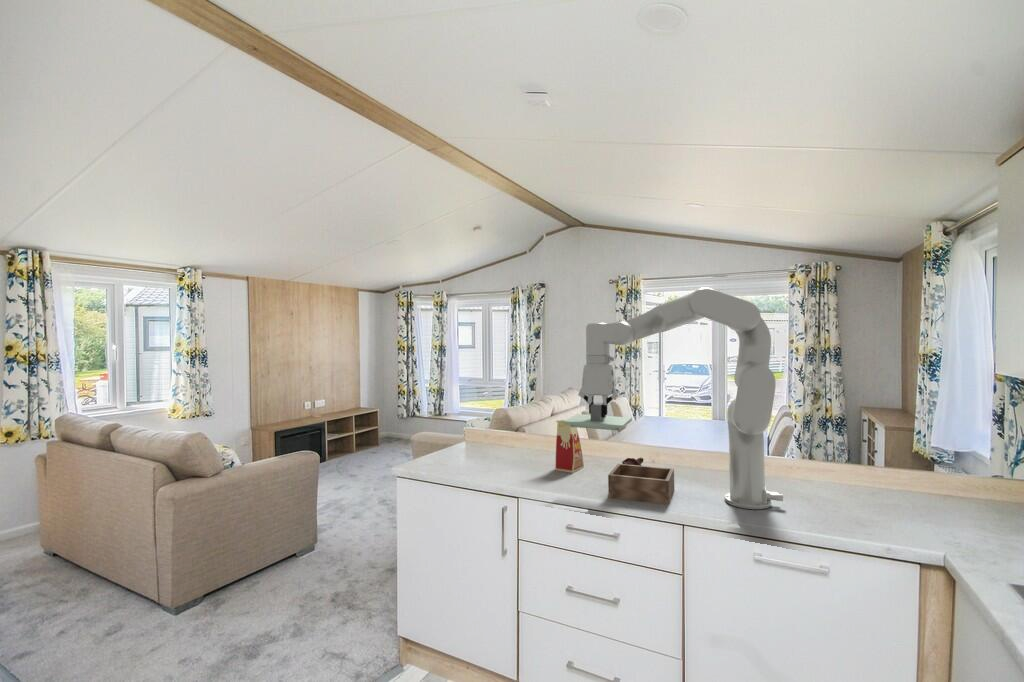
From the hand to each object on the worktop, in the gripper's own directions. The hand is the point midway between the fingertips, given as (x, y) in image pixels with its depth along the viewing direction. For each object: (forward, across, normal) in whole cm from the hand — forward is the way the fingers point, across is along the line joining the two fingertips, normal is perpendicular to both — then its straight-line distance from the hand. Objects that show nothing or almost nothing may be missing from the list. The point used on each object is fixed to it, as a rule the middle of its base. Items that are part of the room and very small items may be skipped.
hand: (598, 416), depth 156 cm
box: (+25, -14, 0) cm, 28 cm away
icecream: (+25, -7, -21) cm, 34 cm away
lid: (+3, 0, 0) cm, 3 cm away
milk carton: (+26, +18, -23) cm, 39 cm away
